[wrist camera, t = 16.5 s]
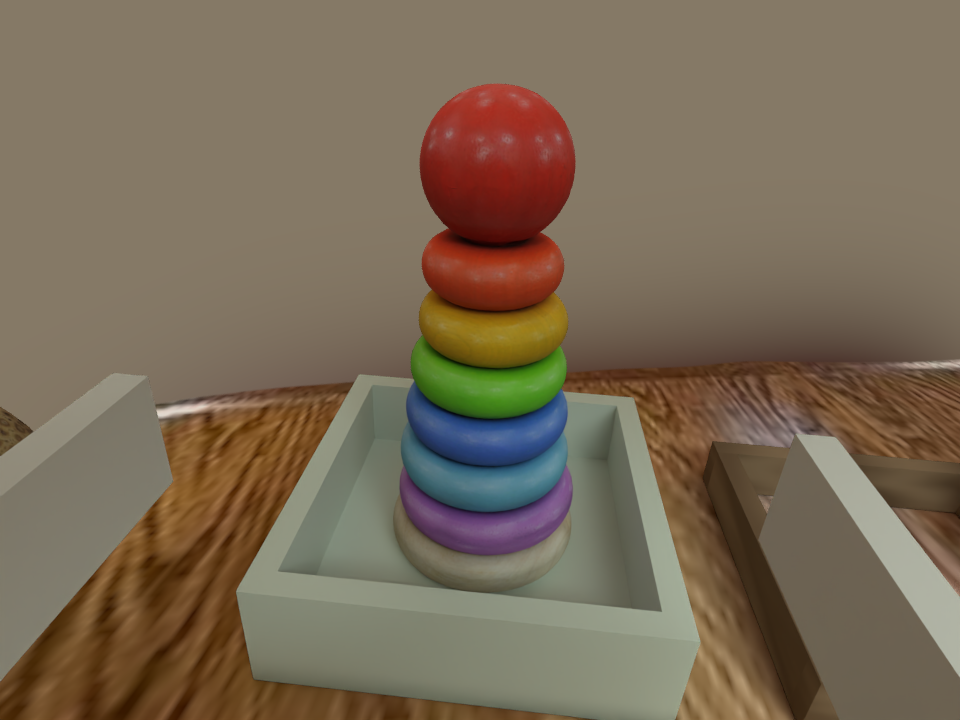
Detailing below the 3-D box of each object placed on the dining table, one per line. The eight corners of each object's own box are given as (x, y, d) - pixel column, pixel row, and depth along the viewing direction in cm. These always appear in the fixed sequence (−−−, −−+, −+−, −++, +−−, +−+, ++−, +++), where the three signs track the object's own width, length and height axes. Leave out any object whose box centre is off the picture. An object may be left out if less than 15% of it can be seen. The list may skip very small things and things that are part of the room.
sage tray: (620, 465, 34) (633, 397, 32) (672, 728, 21) (700, 642, 19) (362, 441, 35) (359, 374, 33) (253, 679, 22) (235, 591, 20)
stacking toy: (409, 472, 31) (404, 73, 22) (562, 483, 31) (618, 84, 22) (376, 595, 24) (353, 82, 15) (575, 611, 24) (664, 99, 15)
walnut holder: (963, 501, 32) (982, 465, 31) (1224, 778, 20) (1273, 733, 19) (702, 478, 33) (712, 441, 32) (799, 729, 21) (821, 684, 20)
